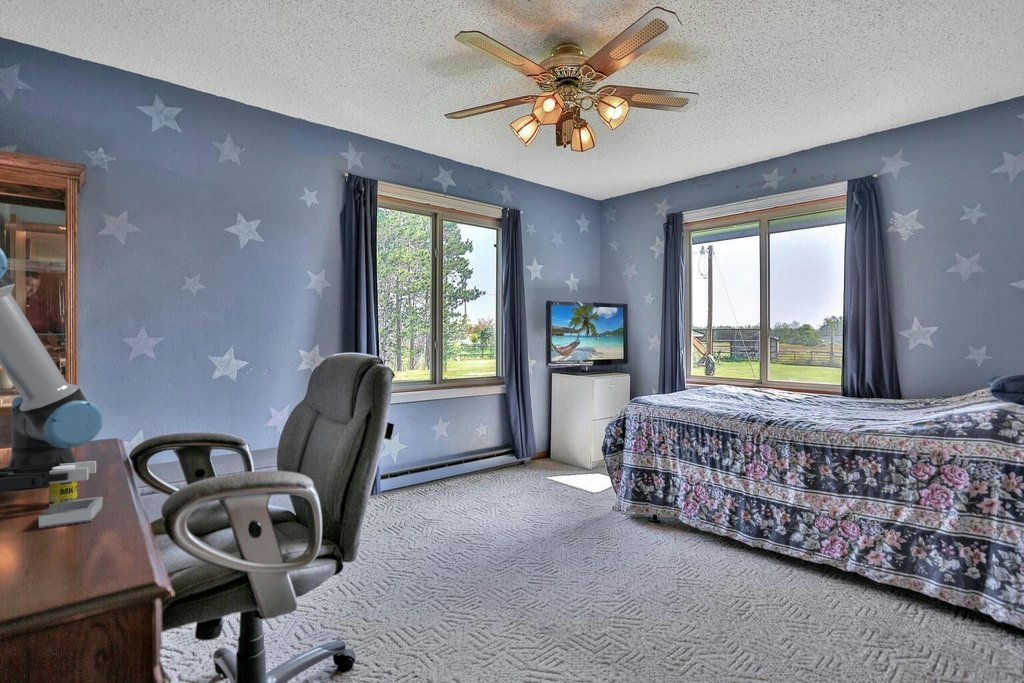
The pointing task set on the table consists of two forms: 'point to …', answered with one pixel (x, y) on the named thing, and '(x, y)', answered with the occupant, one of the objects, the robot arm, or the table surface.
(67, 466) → the supplement bottle
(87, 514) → the rectangular metal tray
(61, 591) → the table surface
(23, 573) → the table surface
